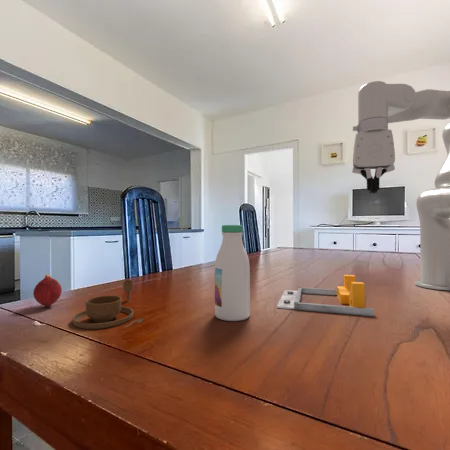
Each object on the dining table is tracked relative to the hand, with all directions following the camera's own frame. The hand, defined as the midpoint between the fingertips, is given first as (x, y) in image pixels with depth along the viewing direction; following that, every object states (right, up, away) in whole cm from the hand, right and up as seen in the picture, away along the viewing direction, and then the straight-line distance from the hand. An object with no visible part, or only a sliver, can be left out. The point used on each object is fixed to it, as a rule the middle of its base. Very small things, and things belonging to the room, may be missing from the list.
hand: (373, 192), depth 80 cm
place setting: (-66, -30, -17) cm, 75 cm away
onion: (-86, -30, -11) cm, 91 cm away
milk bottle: (-41, -29, -18) cm, 53 cm away
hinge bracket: (-17, -29, -7) cm, 34 cm away
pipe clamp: (-11, -30, -9) cm, 33 cm away
